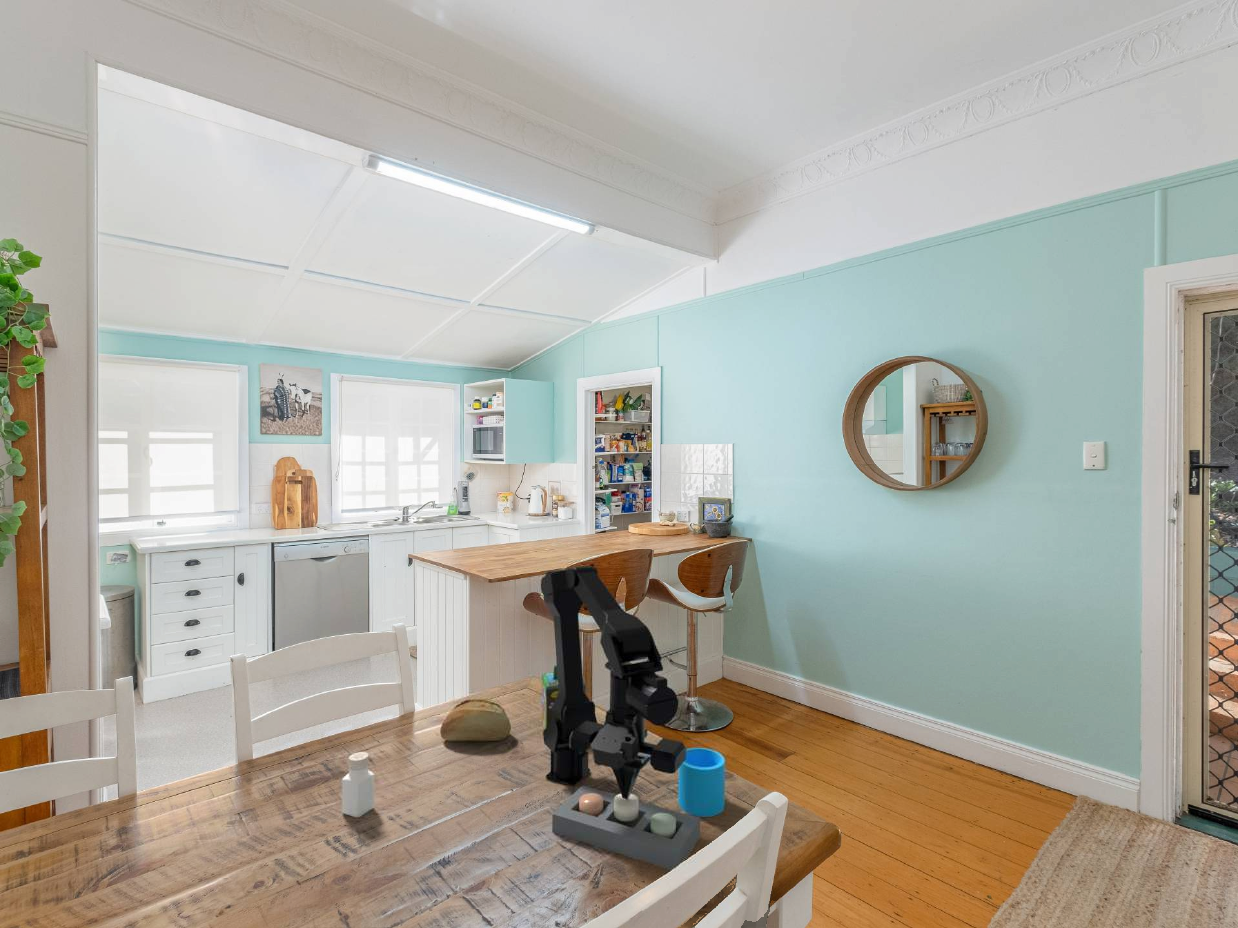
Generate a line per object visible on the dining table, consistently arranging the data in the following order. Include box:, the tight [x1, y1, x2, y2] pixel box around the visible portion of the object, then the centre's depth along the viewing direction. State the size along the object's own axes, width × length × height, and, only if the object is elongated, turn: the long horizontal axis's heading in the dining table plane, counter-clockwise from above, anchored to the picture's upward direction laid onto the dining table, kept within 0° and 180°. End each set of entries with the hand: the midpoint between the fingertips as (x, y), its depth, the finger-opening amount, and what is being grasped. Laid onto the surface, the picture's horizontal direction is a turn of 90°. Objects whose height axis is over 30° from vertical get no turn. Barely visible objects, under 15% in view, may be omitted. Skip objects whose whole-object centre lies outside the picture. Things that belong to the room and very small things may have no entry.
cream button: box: [614, 793, 640, 821], centre depth 102 cm, size 4×4×2 cm
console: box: [551, 785, 701, 871], centre depth 102 cm, size 22×10×3 cm, turn 64°
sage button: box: [651, 813, 676, 839], centre depth 99 cm, size 4×4×2 cm
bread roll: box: [439, 698, 512, 742], centre depth 137 cm, size 10×15×8 cm, turn 100°
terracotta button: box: [579, 793, 603, 817], centre depth 105 cm, size 4×4×2 cm
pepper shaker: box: [341, 751, 376, 818], centre depth 108 cm, size 4×4×10 cm
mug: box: [677, 747, 726, 818], centre depth 114 cm, size 12×8×8 cm
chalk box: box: [541, 664, 587, 731], centre depth 142 cm, size 9×9×15 cm
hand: (626, 797), depth 102 cm, fingers closed
